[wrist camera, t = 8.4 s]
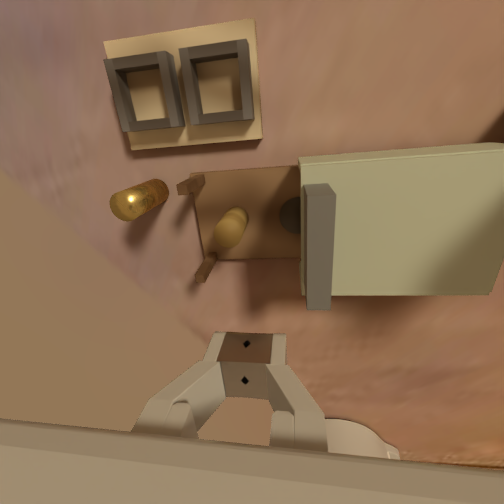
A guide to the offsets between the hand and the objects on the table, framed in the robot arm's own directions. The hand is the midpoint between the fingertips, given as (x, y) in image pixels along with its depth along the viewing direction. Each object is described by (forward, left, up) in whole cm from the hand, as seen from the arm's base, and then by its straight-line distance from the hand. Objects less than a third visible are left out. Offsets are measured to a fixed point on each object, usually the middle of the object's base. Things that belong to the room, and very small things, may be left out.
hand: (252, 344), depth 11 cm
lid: (0, -10, -16) cm, 18 cm away
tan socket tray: (+11, +6, -17) cm, 21 cm away
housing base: (0, +1, -17) cm, 17 cm away
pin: (+3, +12, -17) cm, 21 cm away
